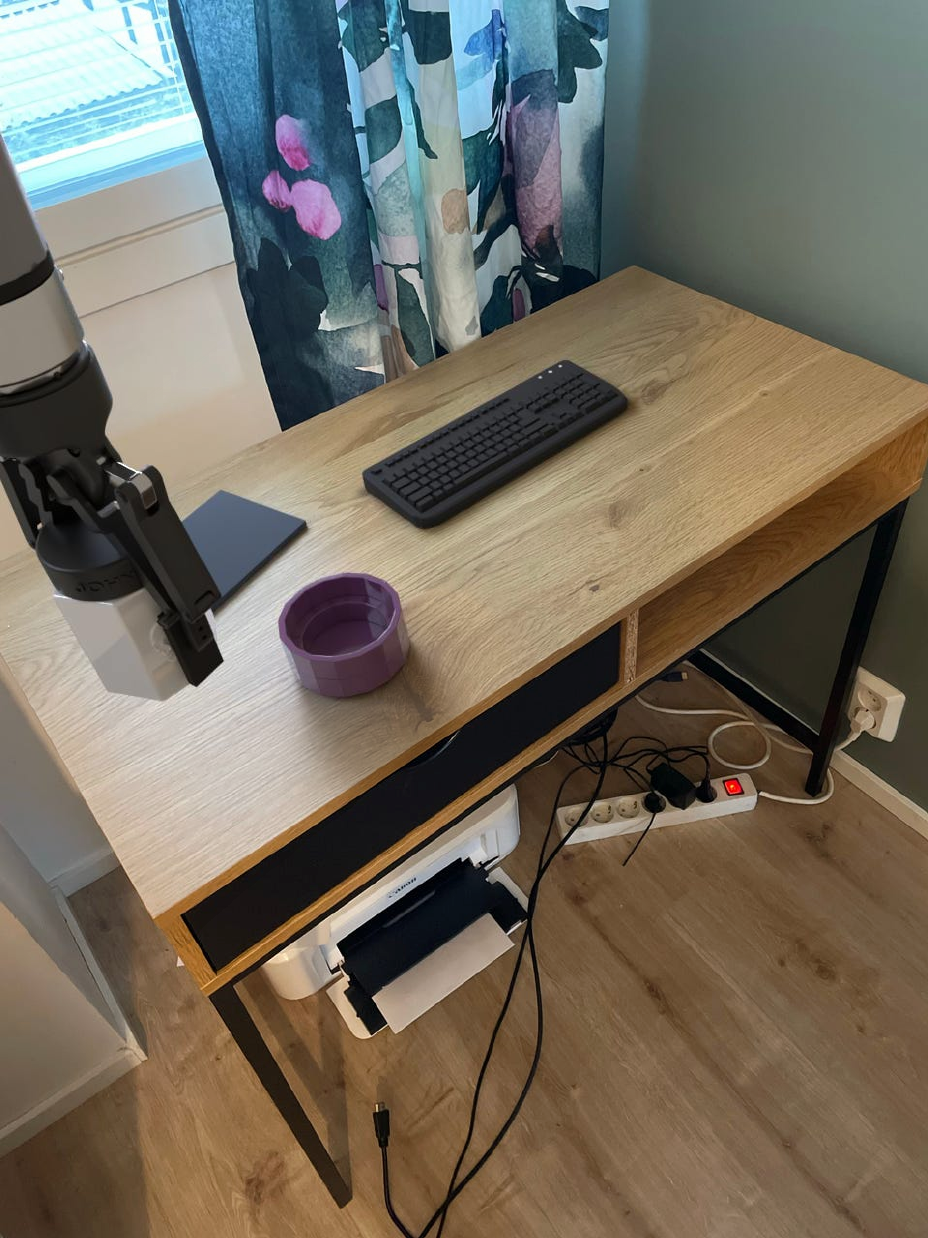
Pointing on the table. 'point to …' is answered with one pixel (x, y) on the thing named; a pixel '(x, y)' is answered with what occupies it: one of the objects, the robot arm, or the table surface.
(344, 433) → the table surface
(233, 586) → the placemat
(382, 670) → the bowl
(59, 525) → the jar
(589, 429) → the keyboard
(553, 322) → the table surface
